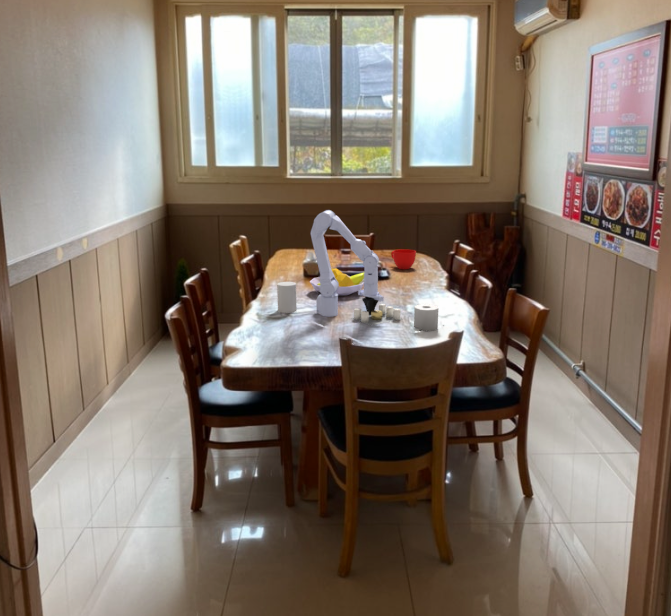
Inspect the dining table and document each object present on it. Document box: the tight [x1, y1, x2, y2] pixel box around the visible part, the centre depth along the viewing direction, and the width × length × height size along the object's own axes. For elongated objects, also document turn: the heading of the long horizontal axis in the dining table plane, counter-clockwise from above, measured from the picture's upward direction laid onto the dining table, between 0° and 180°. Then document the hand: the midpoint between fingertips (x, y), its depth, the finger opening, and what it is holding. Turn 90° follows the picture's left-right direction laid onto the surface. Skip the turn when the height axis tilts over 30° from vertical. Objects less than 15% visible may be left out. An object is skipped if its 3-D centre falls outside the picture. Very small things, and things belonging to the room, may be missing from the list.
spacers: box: [353, 303, 401, 324], centre depth 265 cm, size 12×16×4 cm
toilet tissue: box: [413, 303, 439, 332], centre depth 257 cm, size 9×13×9 cm
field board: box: [350, 314, 402, 327], centre depth 266 cm, size 13×17×1 cm
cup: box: [276, 281, 298, 314], centre depth 280 cm, size 8×8×12 cm
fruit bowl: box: [309, 267, 364, 297], centre depth 312 cm, size 28×27×11 cm
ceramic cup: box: [390, 248, 417, 270], centre depth 372 cm, size 13×17×10 cm
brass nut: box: [371, 309, 382, 320], centre depth 265 cm, size 5×5×3 cm
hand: (370, 314), depth 269 cm, fingers closed
